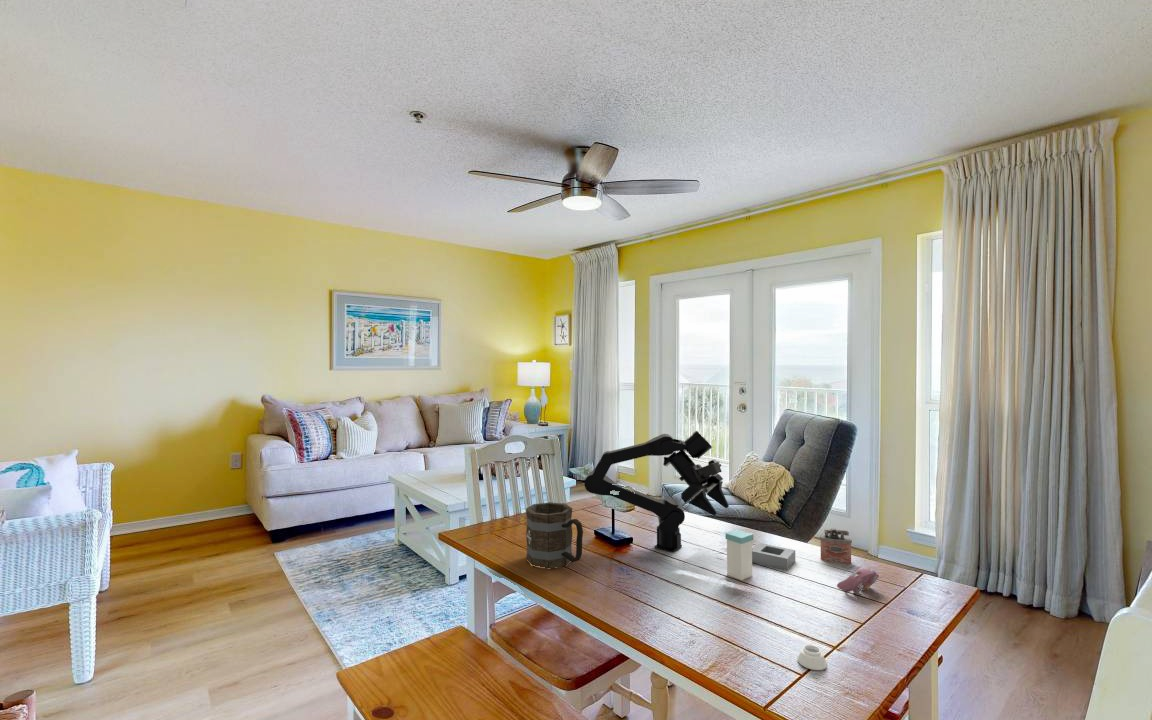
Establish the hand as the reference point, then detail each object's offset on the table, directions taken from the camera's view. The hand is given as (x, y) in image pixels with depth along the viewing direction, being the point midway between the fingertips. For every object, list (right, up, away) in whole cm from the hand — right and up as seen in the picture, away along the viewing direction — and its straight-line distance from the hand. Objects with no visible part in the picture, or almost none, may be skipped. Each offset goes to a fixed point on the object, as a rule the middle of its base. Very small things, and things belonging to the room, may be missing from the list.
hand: (721, 510), depth 152 cm
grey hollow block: (+13, -13, -6) cm, 19 cm away
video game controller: (+28, -14, -23) cm, 38 cm away
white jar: (+2, -14, -53) cm, 55 cm away
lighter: (+30, -14, -6) cm, 34 cm away
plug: (0, -14, -15) cm, 20 cm away
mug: (-48, -14, -3) cm, 50 cm away
